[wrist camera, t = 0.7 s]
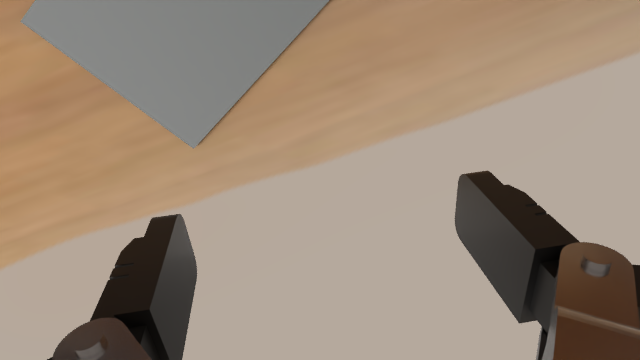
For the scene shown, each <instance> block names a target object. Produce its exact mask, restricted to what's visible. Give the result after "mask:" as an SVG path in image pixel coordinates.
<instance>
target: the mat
mask: <svg viewBox="0 0 640 360" xmlns="http://www.w3.org/2000/svg"><path fill="white" fill-rule="evenodd" d="M328 1H329V0H35V1H34V3H33V4H32V6H31V7H30V9H29V10H28V11H27V13H26V14H25V16H24V17H23V19H22V20H21V22H22V23H23V24H25V25H26V26H27V27H29V28H30V29H31V30H33V31H34V32H36V33H37V34H38V35H40V36H41V37H42V38H44V39H45V40H46V41H48V42H49V43H50V44H52V45H53V46H55V47H56V48H57V49H59V50H60V51H61V52H63V53H64V54H65V55H67V56H68V57H70V58H71V59H72V60H74V61H75V62H76V63H78V64H79V65H80V66H82V67H83V68H84V69H86V70H87V71H89V72H90V73H91V74H93V75H94V76H95V77H97V78H98V79H99V80H101V81H102V82H103V83H105V84H106V85H108V86H109V87H110V88H112V89H113V90H114V91H116V92H117V93H118V94H120V95H121V96H123V97H124V98H125V99H127V100H128V101H129V102H131V103H132V104H133V105H135V106H136V107H137V108H139V109H140V110H142V111H143V112H144V113H146V114H147V115H148V116H150V117H151V118H152V119H154V120H155V121H157V122H158V123H159V124H161V125H162V126H163V127H165V128H166V129H167V130H169V131H170V132H171V133H173V134H174V135H176V136H177V137H178V138H180V139H181V140H182V141H184V142H185V143H186V144H188V145H189V146H190V147H192V148H193V149H194V148H195V147H196V146H197V145H198V143H199V142H200V141H201V140H202V139H203V138H204V137H205V136H206V135H207V134H208V133H209V131H210V130H211V129H212V128H213V127H214V126H215V125H216V124H217V123H218V122H219V121H220V119H221V118H222V117H223V116H224V115H225V114H226V113H227V112H228V111H229V110H230V108H231V107H232V106H233V105H234V104H235V103H236V102H237V101H238V100H239V99H240V98H241V96H242V95H243V94H244V93H245V92H246V91H247V90H248V89H249V88H250V87H251V86H252V84H253V83H254V82H255V81H256V80H257V79H258V78H259V77H260V76H261V75H262V74H263V72H264V71H265V70H266V69H267V68H268V67H269V66H270V65H271V64H272V63H273V61H274V60H275V59H276V58H277V57H278V56H279V55H280V54H281V53H282V52H283V51H284V49H285V48H286V47H287V46H288V45H289V44H290V43H291V42H292V41H293V40H294V39H295V37H296V36H297V35H298V34H299V33H300V32H301V31H302V30H303V29H304V28H305V27H306V25H307V24H308V23H309V22H310V21H311V20H312V19H313V18H314V17H315V16H316V14H317V13H318V12H319V11H320V10H321V9H322V8H323V7H324V6H325V5H326V4H327V2H328Z"/></svg>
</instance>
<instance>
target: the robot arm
mask: <svg viewBox="0 0 640 360" xmlns="http://www.w3.org/2000/svg"><path fill="white" fill-rule="evenodd" d="M455 226H456V231H457V234H458V236H459V238H460V240H461V241H462V243H463V244H464V246H465V247H466V249H467V250H468V251H469V253H470V254H471V256H472V257H473V258H474V260H475V261H476V263H477V264H478V266H479V267H480V268H481V270H482V271H483V272H484V274H485V275H486V277H487V278H488V280H489V281H490V283H491V284H492V285H493V287H494V288H495V290H496V291H497V292H498V294H499V295H500V297H501V298H502V299H503V301H504V302H505V304H506V305H507V307H508V308H509V310H510V311H511V312H512V314H513V315H514V317H515V318H516V319H517V321H518V322H519V323H524V322H529V321H536V320H537V321H538V322H539V323H540V324H541V326H542V328H541V331H540V335H539V342H538V349H537V356H536V360H640V265H632V264H631V263H630V262H629V261H628V259H626V258H625V257H624V256H623V255H621V254H620V253H618V252H617V251H615V250H613V249H611V248H608V247H605V246H602V245H599V244H594V243H587V242H579V241H578V240H577V239H576V238H575V237H574V236H573V235H571V234H570V233H569V232H568V231H567V230H566V229H565V228H564V227H563V226H561V225H560V224H559V223H558V222H557V221H556V220H555V219H554V218H553V217H551V216H550V215H549V214H547V213H546V211H545V210H544V209H543V208H542V207H540V206H539V205H538V206H537V203H536V202H535V201H534V200H533V199H532V198H530V197H529V196H528V195H527V194H526V193H525V192H522V191H520V190H518V189H516V188H514V187H512V186H510V185H503V184H502V183H501V182H500V181H499V180H498V179H497V178H496V177H495V176H494V175H493V174H492V173H490V172H489V171H482V172H475V173H468V174H462V175H461V176H460V178H459V181H458V190H457V201H456V212H455ZM196 267H197V266H196V260H195V256H194V252H193V249H192V246H191V242H190V239H189V236H188V232H187V229H186V226H185V222H184V219H183V217H182V216H181V214H176V215H169V216H162V217H155V218H152V219H151V221H150V223H149V226H148V228H147V231H146V233H145V236H144V237H141V238H135V239H133V240H132V241H131V242H130V243H129V244H128V245H127V246H126V247H125V248H124V249H123V250H122V251H121V253H120V255H119V257H118V260H117V262H116V264H115V268H114V269H113V271H112V273H111V275H110V280H108V282H107V284H106V287H105V289H104V291H103V293H102V295H101V298H100V300H99V302H98V304H97V306H96V309H95V311H94V313H93V316H92V318H91V320H90V322H87V323H85V324H83V325H81V326H79V327H78V328H76V329H74V330H73V331H72V332H70V333H69V334H68V335H67V336H66V337H65V338H64V339H63V340H62V341H61V342H60V343H59V345H58V346H57V348H56V349H55V352H54V354H53V357H52V358H50V359H47V360H182V357H183V351H184V345H185V340H186V334H187V329H188V323H189V318H190V313H191V307H192V302H193V296H194V290H195V285H196V279H197V268H196Z"/></svg>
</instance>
